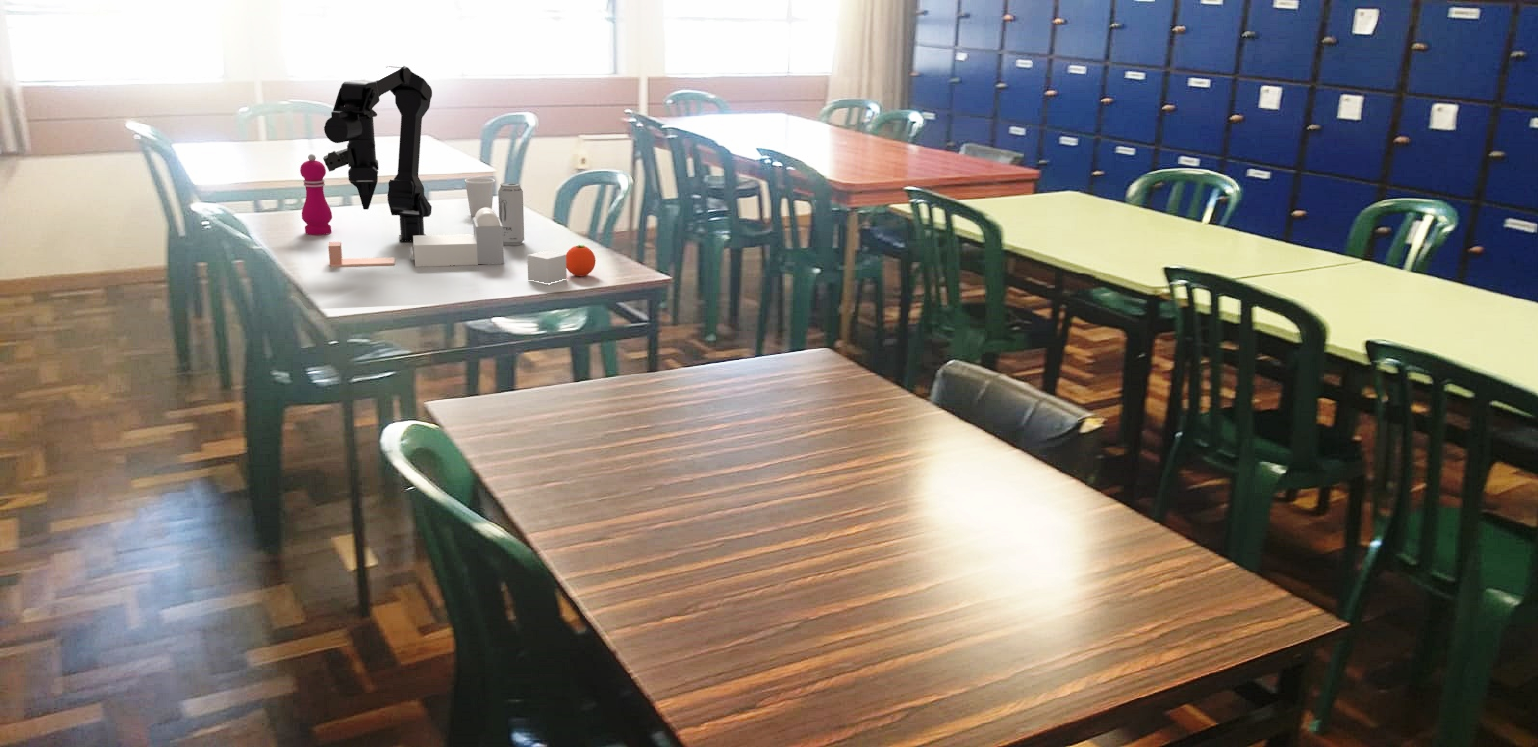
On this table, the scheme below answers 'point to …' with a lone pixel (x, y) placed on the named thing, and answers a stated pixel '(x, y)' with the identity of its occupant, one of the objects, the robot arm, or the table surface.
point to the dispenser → (463, 244)
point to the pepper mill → (315, 198)
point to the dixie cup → (479, 193)
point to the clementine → (580, 260)
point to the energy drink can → (511, 213)
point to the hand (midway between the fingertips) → (366, 205)
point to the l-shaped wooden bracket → (337, 260)
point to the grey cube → (546, 266)
